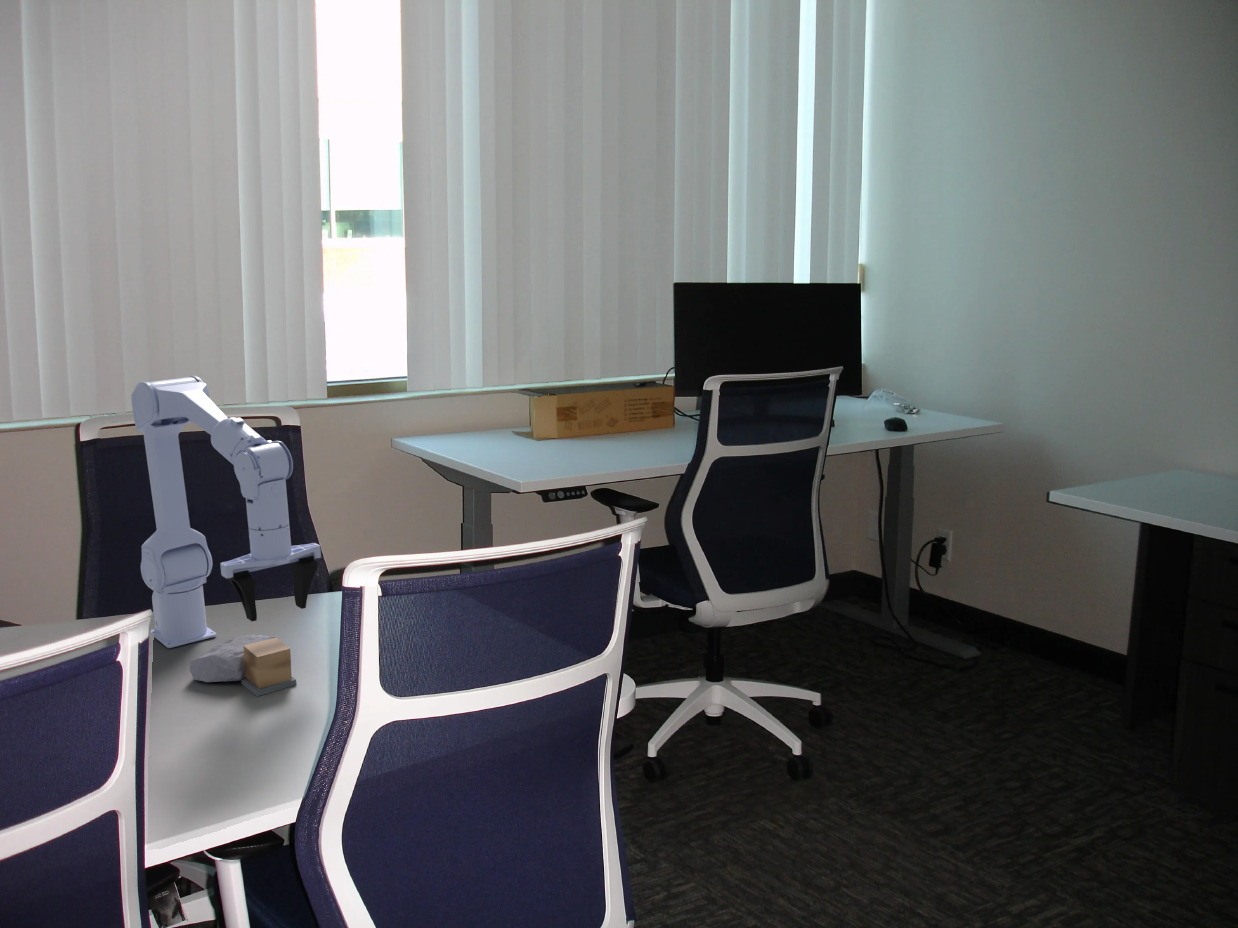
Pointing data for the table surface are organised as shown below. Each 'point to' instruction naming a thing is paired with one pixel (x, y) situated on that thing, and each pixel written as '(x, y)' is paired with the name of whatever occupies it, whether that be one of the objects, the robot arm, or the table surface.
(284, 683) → the charcoal pad
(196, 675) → the stone block
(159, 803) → the table surface
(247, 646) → the tan cube
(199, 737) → the table surface
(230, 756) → the table surface
